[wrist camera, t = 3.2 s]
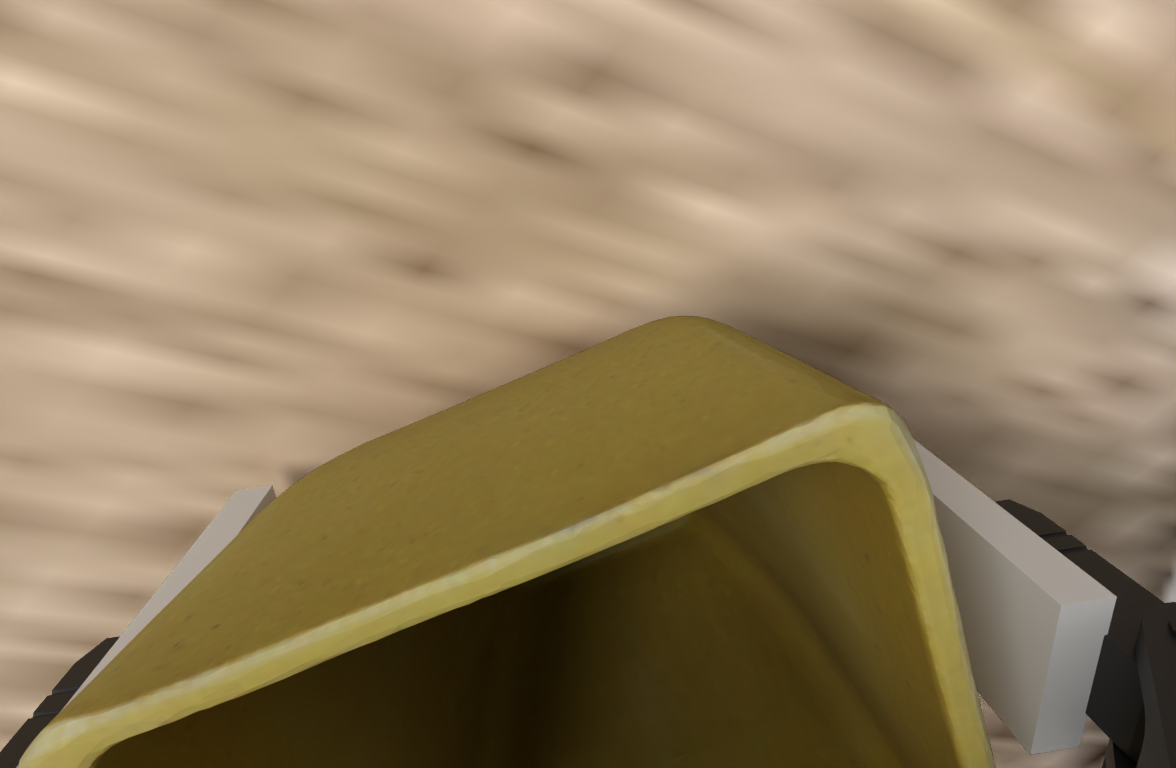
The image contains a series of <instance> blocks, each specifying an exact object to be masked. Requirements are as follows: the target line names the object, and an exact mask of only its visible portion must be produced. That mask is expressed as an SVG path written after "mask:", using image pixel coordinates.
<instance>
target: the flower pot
mask: <svg viewBox="0 0 1176 768" xmlns="http://www.w3.org/2000/svg"><path fill="white" fill-rule="evenodd" d="M18 768H996V766H995V763H994V759H993V754H992V750H991V745H990V742H989V738H988V735H987V731H986V726H985V721H984V717H983V713H982V709H981V705H980V701H979V696H978V692H977V688H976V685H975V681H974V678H973V674H972V669H971V664H970V660H969V655H968V650H967V646H966V641H965V637H964V632H963V626H962V621H961V615H960V611H959V606H958V602H957V598H956V595H955V592H954V587H953V581H952V575H951V572H950V569H949V565H948V558H947V554H946V549H945V545H944V541H943V537H942V534H941V531H940V526H939V521H938V516H937V511H936V506H935V501H934V497H933V494H932V490H931V487H930V484H929V480H928V477H927V475H926V472H925V469H924V466H923V463H922V460H921V458H920V455H919V452H918V450H917V447H916V445H915V442H914V440H913V437H912V435H911V433H910V431H909V430H908V428H907V426H906V424H905V422H904V420H903V418H901V417H900V416H899V415H898V414H897V413H896V412H895V411H894V410H893V409H892V408H891V407H889V406H888V405H887V404H885V403H883V402H882V401H880V400H878V399H876V398H873V397H871V396H869V395H867V394H865V393H862V392H860V391H858V390H856V389H853V388H852V387H850V386H848V385H846V384H844V383H843V382H841V381H839V380H837V379H835V378H833V377H831V376H829V375H827V374H825V373H823V372H821V371H819V370H817V369H815V368H813V367H811V366H809V365H807V364H805V363H803V362H801V361H799V360H797V359H795V358H793V357H791V356H789V355H787V354H785V353H783V352H781V351H779V350H777V349H775V348H773V347H771V346H769V345H767V344H765V343H763V342H761V341H759V340H757V339H755V338H753V337H751V336H748V335H746V334H744V333H742V332H740V331H738V330H736V329H734V328H732V327H730V326H727V325H724V324H722V323H719V322H716V321H713V320H710V319H707V318H702V317H696V316H676V317H668V318H664V319H660V320H656V321H653V322H649V323H647V324H644V325H642V326H639V327H637V328H634V329H632V330H629V331H627V332H625V333H622V334H620V335H618V336H616V337H614V338H611V339H609V340H607V341H605V342H603V343H600V344H598V345H596V346H594V347H591V348H589V349H587V350H584V351H582V352H580V353H577V354H575V355H573V356H570V357H568V358H566V359H563V360H561V361H559V362H556V363H554V364H552V365H549V366H547V367H545V368H542V369H540V370H538V371H535V372H533V373H531V374H528V375H526V376H524V377H521V378H519V379H517V380H514V381H512V382H510V383H507V384H505V385H503V386H500V387H498V388H496V389H493V390H491V391H489V392H486V393H484V394H482V395H479V396H477V397H475V398H472V399H470V400H468V401H465V402H463V403H460V404H458V405H456V406H453V407H451V408H449V409H446V410H444V411H442V412H439V413H437V414H435V415H432V416H430V417H427V418H425V419H422V420H420V421H418V422H415V423H413V424H410V425H408V426H405V427H403V428H400V429H398V430H396V431H393V432H391V433H388V434H386V435H383V436H381V437H378V438H376V439H374V440H371V441H369V442H366V443H364V444H362V445H360V446H358V447H356V448H354V449H352V450H350V451H348V452H346V453H344V454H342V455H340V456H338V457H336V458H334V459H332V460H331V461H329V462H327V463H325V464H324V465H322V466H320V467H318V468H317V469H315V470H313V471H312V472H310V473H309V474H307V475H306V476H305V477H303V478H302V479H300V480H299V481H298V482H296V483H295V484H293V485H292V486H291V487H289V488H288V489H287V490H286V491H285V492H283V493H282V494H281V495H280V496H278V497H277V498H276V499H275V500H273V501H272V502H271V503H270V504H269V505H268V506H267V507H266V508H265V509H264V510H262V511H261V512H260V513H259V514H258V515H257V516H256V517H255V518H254V519H253V520H252V521H251V522H250V523H249V524H248V525H247V526H246V527H245V528H244V529H243V530H242V531H241V532H240V533H239V534H238V535H237V536H236V537H235V538H234V539H233V540H232V541H231V542H230V543H229V544H228V545H227V546H226V547H225V548H224V549H223V550H222V551H221V552H220V553H219V554H218V555H217V556H216V557H215V558H214V559H213V560H212V561H211V562H210V563H209V564H208V565H207V566H206V567H205V568H204V569H203V570H202V571H201V572H200V573H199V574H198V575H197V576H196V577H195V578H194V579H193V580H192V581H191V582H190V583H189V584H188V585H187V586H186V587H185V588H184V589H183V590H182V591H181V592H180V593H179V594H178V595H177V596H176V597H175V598H174V599H173V600H172V601H171V602H170V603H169V604H168V605H167V606H166V607H164V608H163V609H162V610H161V611H160V612H159V613H158V614H157V615H156V616H155V617H154V618H153V619H152V620H151V621H150V622H149V623H148V624H147V625H146V626H145V627H144V628H143V629H142V630H141V631H140V632H139V633H138V634H137V635H136V636H135V637H134V638H133V639H132V640H131V641H130V642H129V643H128V644H127V645H126V646H125V647H124V648H123V649H122V650H121V651H120V652H119V653H118V654H117V655H116V657H115V658H114V659H113V660H112V661H111V662H110V663H109V664H108V665H107V666H106V667H105V668H104V669H103V670H102V671H101V672H100V673H99V674H98V675H97V676H96V677H95V678H94V679H93V680H92V681H91V682H90V683H89V684H88V685H87V686H86V687H85V688H84V689H83V690H82V691H81V692H80V693H79V694H78V695H77V696H76V697H75V698H74V699H73V700H72V701H71V702H70V703H69V704H68V705H67V706H66V707H65V708H64V709H63V710H62V711H61V712H60V713H59V714H58V715H57V716H56V717H55V718H54V719H53V720H52V721H51V722H50V723H49V724H48V725H47V726H46V727H45V728H44V729H43V730H42V731H41V732H40V733H39V734H38V736H37V737H36V738H35V739H34V740H33V741H32V743H31V744H30V745H29V747H28V748H27V750H26V751H25V753H24V754H23V756H22V757H21V759H20V761H19V766H18Z"/></svg>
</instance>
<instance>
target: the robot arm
mask: <svg viewBox="0 0 1176 768" xmlns="http://www.w3.org/2000/svg"><path fill="white" fill-rule="evenodd" d="M913 440H914V439H913ZM914 442H915V445H916V447H917V450H918V452H919V455H920V458H921V460H922V463H923V466H924V469H925V472H926V475H927V477H928V480H929V484H930V487H931V490H932V494H933V497H934V501H935V506H936V511H937V516H938V521H939V526H940V531H941V534H942V537H943V541H944V545H945V549H946V554H947V558H948V565H949V569H950V572H951V575H952V581H953V587H954V592H955V595H956V598H957V602H958V606H959V611H960V615H961V621H962V626H963V632H964V637H965V641H966V646H967V650H968V655H969V660H970V664H971V669H972V674H973V678H974V681H975V685H976V688H977V691H978V692H979V694H980V695H981V696H982V697H983V698H984V700H985V701H986V702H987V703H988V705H989V706H990V707H991V708H992V709H993V711H994V712H995V713H996V714H997V716H998V717H999V718H1000V719H1001V720H1002V722H1003V723H1004V724H1005V725H1006V726H1007V728H1008V729H1009V730H1010V731H1011V733H1012V734H1013V735H1014V736H1015V737H1016V739H1017V740H1018V741H1019V742H1020V744H1021V745H1022V746H1023V747H1024V748H1025V750H1026V751H1027V752H1028V753H1029V754H1030V755H1034V754H1040V753H1046V752H1052V751H1057V750H1063V749H1069V748H1075V747H1080V744H1081V740H1082V735H1083V731H1084V727H1085V723H1086V719H1087V715H1088V716H1089V717H1090V718H1091V719H1092V720H1093V721H1094V722H1095V723H1096V725H1097V726H1098V727H1099V728H1100V729H1101V730H1102V731H1103V732H1104V733H1105V734H1106V735H1107V736H1108V737H1109V738H1110V739H1109V743H1108V747H1107V751H1106V754H1105V758H1104V762H1103V765H1102V768H1176V602H1171V603H1164V602H1162V601H1161V600H1160V599H1158V598H1157V597H1156V596H1154V595H1153V594H1151V593H1150V592H1149V591H1147V590H1146V589H1145V588H1143V587H1142V586H1140V585H1139V584H1138V583H1136V582H1135V581H1134V580H1132V579H1131V578H1129V577H1128V576H1127V575H1125V574H1124V573H1123V572H1121V571H1120V570H1118V569H1117V568H1116V567H1114V566H1113V565H1112V564H1110V563H1109V562H1107V561H1106V560H1105V559H1103V558H1102V557H1101V556H1099V555H1098V554H1097V553H1095V552H1094V551H1092V550H1087V548H1086V545H1084V544H1083V543H1081V542H1080V541H1079V540H1077V539H1076V538H1075V537H1073V536H1072V535H1067V534H1066V531H1065V530H1064V529H1062V528H1061V527H1059V526H1058V525H1057V524H1055V523H1054V522H1053V521H1051V520H1050V519H1048V518H1047V517H1046V516H1044V515H1043V514H1042V513H1039V512H1037V511H1035V510H1032V509H1030V508H1028V507H1025V506H1023V505H1021V504H1018V503H1016V502H1014V501H1012V500H1004V501H997V502H994V501H993V500H991V499H990V498H989V497H988V496H986V495H985V494H984V493H982V492H981V491H980V490H979V489H977V488H976V487H975V486H973V485H972V484H971V483H970V482H968V481H967V480H966V479H964V478H963V477H962V476H960V475H959V474H958V473H957V472H955V471H954V470H953V469H951V468H950V467H949V466H948V465H946V464H945V463H944V462H942V461H941V460H940V459H939V458H937V457H936V456H935V455H933V454H932V453H931V452H930V451H928V450H927V449H926V448H924V447H923V446H922V445H920V444H919V443H918V442H917V441H915V440H914ZM275 499H276V495H275V492H274V489H273V486H272V485H271V486H264V487H257V488H250V489H243V490H236V491H235V493H234V494H233V495H232V496H231V498H230V499H229V500H228V501H227V503H226V504H225V505H224V506H223V508H222V509H221V510H220V512H219V513H218V514H217V515H216V517H215V518H214V519H213V520H212V522H211V523H210V524H209V525H208V527H207V528H206V529H205V530H204V532H203V533H202V534H201V535H200V537H199V538H198V539H197V540H196V542H195V543H194V544H193V546H192V547H191V548H190V549H189V551H188V552H187V553H186V554H185V556H184V557H183V558H182V559H181V561H180V562H179V563H178V564H177V566H176V567H175V568H174V569H173V571H172V572H171V573H170V574H169V576H168V577H167V578H166V579H165V581H164V582H163V583H162V585H161V586H160V587H159V588H158V590H157V591H156V592H155V593H154V595H153V596H152V597H151V598H150V600H149V601H148V602H147V603H146V605H145V606H144V607H143V608H142V610H141V611H140V612H139V613H138V615H137V616H136V617H135V619H134V620H133V621H132V622H131V624H130V625H129V626H128V627H127V629H126V630H125V631H124V632H123V634H122V635H121V636H120V637H113V638H107V639H105V640H104V641H103V642H101V643H100V644H99V645H98V646H96V647H95V648H94V649H93V650H91V651H90V652H89V653H87V654H86V655H85V656H84V657H82V658H81V659H80V660H79V661H77V662H76V663H75V664H74V665H73V666H72V667H71V669H70V670H69V671H68V672H67V673H66V674H65V676H64V677H63V678H62V679H61V680H60V682H59V683H58V684H57V685H56V686H55V688H54V689H53V690H52V695H50V696H47V697H46V698H45V700H44V701H43V702H42V703H41V704H40V705H39V707H38V708H37V709H36V710H35V711H34V713H33V718H31V719H28V720H27V721H26V722H25V723H24V725H23V726H22V727H21V728H20V729H19V730H18V732H17V733H16V734H15V735H14V736H13V738H12V739H11V740H10V741H9V742H8V744H7V745H6V746H5V747H4V748H3V750H2V751H1V752H0V768H18V766H19V761H20V759H21V757H22V756H23V754H24V753H25V751H26V750H27V748H28V747H29V745H30V744H31V743H32V741H33V740H34V739H35V738H36V737H37V736H38V734H39V733H40V732H41V731H42V730H43V729H44V728H45V727H46V726H47V725H48V724H49V723H50V722H51V721H52V720H53V719H54V718H55V717H56V716H57V715H58V714H59V713H60V712H61V711H62V710H63V709H64V708H65V707H66V706H67V705H68V704H69V703H70V702H71V701H72V700H73V699H74V698H75V697H76V696H77V695H78V694H79V693H80V692H81V691H82V690H83V689H84V688H85V687H86V686H87V685H88V684H89V683H90V682H91V681H92V680H93V679H94V678H95V677H96V676H97V675H98V674H99V673H100V672H101V671H102V670H103V669H104V668H105V667H106V666H107V665H108V664H109V663H110V662H111V661H112V660H113V659H114V658H115V657H116V655H117V654H118V653H119V652H120V651H121V650H122V649H123V648H124V647H125V646H126V645H127V644H128V643H129V642H130V641H131V640H132V639H133V638H134V637H135V636H136V635H137V634H138V633H139V632H140V631H141V630H142V629H143V628H144V627H145V626H146V625H147V624H148V623H149V622H150V621H151V620H152V619H153V618H154V617H155V616H156V615H157V614H158V613H159V612H160V611H161V610H162V609H163V608H164V607H166V606H167V605H168V604H169V603H170V602H171V601H172V600H173V599H174V598H175V597H176V596H177V595H178V594H179V593H180V592H181V591H182V590H183V589H184V588H185V587H186V586H187V585H188V584H189V583H190V582H191V581H192V580H193V579H194V578H195V577H196V576H197V575H198V574H199V573H200V572H201V571H202V570H203V569H204V568H205V567H206V566H207V565H208V564H209V563H210V562H211V561H212V560H213V559H214V558H215V557H216V556H217V555H218V554H219V553H220V552H221V551H222V550H223V549H224V548H225V547H226V546H227V545H228V544H229V543H230V542H231V541H232V540H233V539H234V538H235V537H236V536H237V535H238V534H239V533H240V532H241V531H242V530H243V529H244V528H245V527H246V526H247V525H248V524H249V523H250V522H251V521H252V520H253V519H254V518H255V517H256V516H257V515H258V514H259V513H260V512H261V511H262V510H264V509H265V508H266V507H267V506H268V505H269V504H270V503H271V502H272V501H273V500H275Z"/></svg>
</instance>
